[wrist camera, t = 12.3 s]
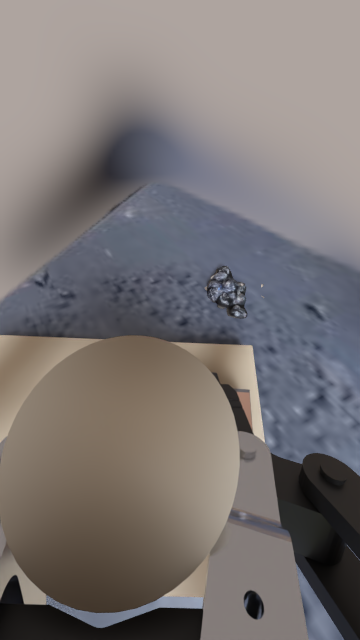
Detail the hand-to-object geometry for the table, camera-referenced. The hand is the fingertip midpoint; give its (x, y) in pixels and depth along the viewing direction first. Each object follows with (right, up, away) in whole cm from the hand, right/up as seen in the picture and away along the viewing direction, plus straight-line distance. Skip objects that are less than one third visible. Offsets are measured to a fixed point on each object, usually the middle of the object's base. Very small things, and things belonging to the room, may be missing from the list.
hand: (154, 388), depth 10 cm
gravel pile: (+6, +5, +10) cm, 13 cm away
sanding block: (0, -4, +2) cm, 5 cm away
